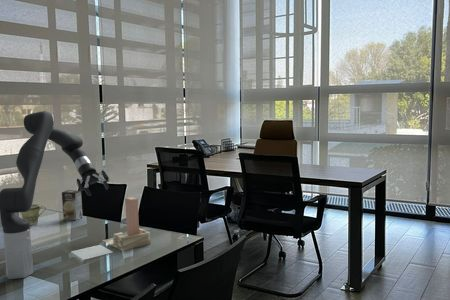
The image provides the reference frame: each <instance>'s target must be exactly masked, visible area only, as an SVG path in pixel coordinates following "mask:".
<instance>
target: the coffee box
mask: <svg viewBox="0 0 450 300" xmlns="http://www.w3.org/2000/svg"><path fill="white" fill-rule="evenodd" d="M61 201H62V202H61V203H62V218H63V220H64V221H65V220H66V221H78V220H80V219H79V218H81V217H83V203H82V202H83V201H82V191H80V190H73V189H71V190H70V189H67V190H65V191H62V192H61ZM77 219H78V220H77ZM81 219H82V218H81Z"/></svg>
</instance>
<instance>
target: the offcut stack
mask: <svg viewBox="0 0 450 300" xmlns="http://www.w3.org/2000/svg"><path fill="white" fill-rule="evenodd" d="M124 237H128V235H127V233H124V232H117V233H113V237H112V238H113V244H115V245H117V246H119V247H121V248H122V238H124Z"/></svg>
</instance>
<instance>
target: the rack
mask: <svg viewBox="0 0 450 300" xmlns="http://www.w3.org/2000/svg"><path fill="white" fill-rule="evenodd" d="M102 241H103V242H105V243H107V244H108V245H110V246H112V247H114V248H115V249H118V250H120V251H126V250H130V249H133V248H137V247H142V246H146V245H150V244H151V232H150V231H148V230H145V229H143V228H140V227H139V234H137V235H132V236H128V237H124V238H122V248H121V247H119V246H117V245H115V244H113V237H111V238H107V239H102Z"/></svg>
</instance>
